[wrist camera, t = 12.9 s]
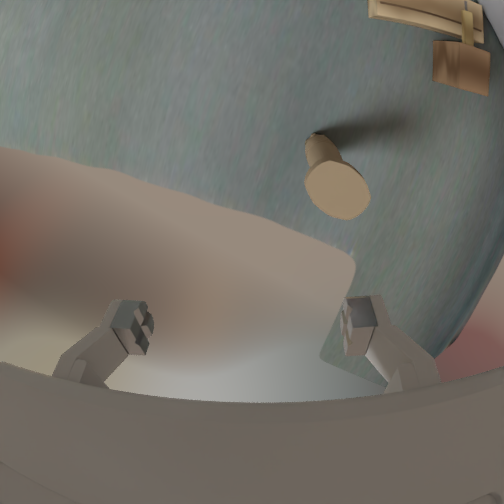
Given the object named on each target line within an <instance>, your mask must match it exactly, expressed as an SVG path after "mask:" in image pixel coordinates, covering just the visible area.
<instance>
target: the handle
mask: <svg viewBox="0 0 504 504" xmlns="http://www.w3.org/2000/svg"><path fill="white" fill-rule="evenodd" d="M305 145H306V147H305V152H306V158H307V161H308V164H309V166H310V169H309V170H308V172H307V173H306V176H305V181H304V183H305V187H306V189H307V191H308V194H309V196H310V198H311V200H312V201H313V203H314V204H315V205H316V206H317V207H318V208H320V209H321V210H322V211H323V212H325V213H326V214H328V215H329V216H332V217H335V218H339V219H343V220H350V219H353V218H355V217H357V216H358V215H359V214H361V213H362V212H363V211H364V210H365V209H366V207H367V206H368V204H369V202H370V199H371V196H370V193H369V189H368V187H367V184H366V182H365V180H364V178H363V177H362V175H361V174H360V173H359V172H358V171H357V170H356V169H355V168H354V167H353V166H351V165H350V164H349V163H347V162H345V161H343V160H342V157H341V155H340V153H339V151H338V149H337V148H336V146H335V145H334V144H333V143H332V141H331V140H329V139H328V137H326V136H325V135H317V134H315V133H313V134H311V136H310V138H309V139H307V140H306V142H305Z"/></svg>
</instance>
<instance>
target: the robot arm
mask: <svg viewBox="0 0 504 504" xmlns="http://www.w3.org/2000/svg"><path fill="white" fill-rule="evenodd" d="M147 308H148V306H147V304H146V302H144V301H131V300H113V301H112V302H111V303H110V305H109V308H108V310H107V312H106V314H105V316H104V318H103V320H102V322H101V324H100V327H96V328H95V329H94V330H92V331H91V332H90V333H89V334H87V335H86V336H85V337H84V338H82V339H81V340H80V341H78V342H77V343H76V344H74V345H73V346H72V347H71V348H70V349H68V350H67V351H66V352H65V353H63V354H62V355H61V357H60V359H59V361H58V364H57V366H56V368H55V370H54V372H53V375H52V376H49V375H45V374H41V373H38V372H35V371H31V370H28V369H25V368H22V367H18V366H15V365H12V364H10V363H6V362H3V361H2V362H0V504H504V366H503V367H499V368H496V369H493V370H490V371H486V372H483V373H480V374H476V375H473V376H469V377H465V378H461V379H457V380H453V381H449V382H445V383H441V380H440V377H439V373H438V370H437V367H436V364H435V361H434V358H433V357H432V356H431V355H429V354H428V353H427V352H426V351H425V350H424V349H423V348H421V347H420V346H419V345H418V344H417V343H415V342H414V341H413V340H412V339H411V338H410V337H408V336H407V335H406V334H405V333H404V332H403V331H401V330H400V329H399V328H398V327H397V326H395V325H391V322H390V319H389V316H388V313H387V310H386V307H385V304H384V301H383V298H382V296H381V295H369V296H355V297H345V298H344V300H343V308H344V310H343V311H342V312H341V317H340V326H341V333H342V335H343V336H344V341H343V345H344V351H345V356H356V355H365V356H366V357H367V358H368V359H369V361H370V362H371V363H372V364H373V365H374V366H375V368H376V369H377V370H378V371H379V372H380V373H381V375H382V376H383V377H384V378H385V379H386V380H387V382H388V383H389V384H388V386H387V387H386V389H385V391H384V392H383V394H380V395H372V396H365V397H356V398H346V399H335V400H323V401H306V402H279V403H244V402H216V401H200V400H187V399H176V398H167V397H158V396H150V395H143V394H136V393H129V392H123V391H117V390H111V389H109V387H108V386H107V385H106V384H105V383H104V381H105V380H106V379H107V378H108V377H109V376H110V375H111V373H113V372H114V370H115V369H116V368H117V367H118V366H119V365H120V364H121V363H122V362H123V361H124V360H125V359H126V358H127V356H128V354H131V355H146V352H147V349H148V346H149V342H148V338H149V337H150V336H151V335H152V333H153V329H154V321H153V317H152V315H151V314H150V313H149V312H147Z"/></svg>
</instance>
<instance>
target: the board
mask: <svg viewBox="0 0 504 504" xmlns="http://www.w3.org/2000/svg"><path fill="white" fill-rule="evenodd" d="M461 10H466V11H469V12H471V13H472V14H473V39H474V43H482V44H484V33H483V13H482V5H480V4H477V3H475V2H472V1H470V0H368V14H369V18H374V19H380V20H386V21H392V22H397V23H402V24H407V25H411V26H416V27H420V28H424V29H428V30H432V31H435V32H439V33H443V34H446V35H449V36H453V37H456V38H459V39H462V20H461Z"/></svg>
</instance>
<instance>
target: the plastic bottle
mask: <svg viewBox="0 0 504 504" xmlns="http://www.w3.org/2000/svg"><path fill="white" fill-rule="evenodd" d="M477 1H478V3H479V4H480V5H482V10H483V11H484V13H485V15H486V16H487V18H488V20H489V22H490V24H491V25H492V27H493V29H494V31H495V33H496V35H497V37H498V39H499V41H500V43H501V45H502V46H503V48H504V0H477Z"/></svg>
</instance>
